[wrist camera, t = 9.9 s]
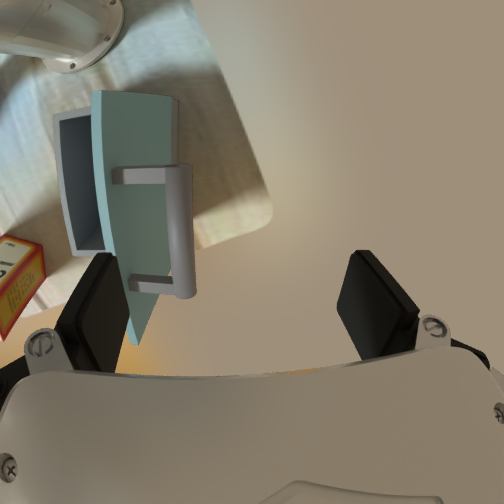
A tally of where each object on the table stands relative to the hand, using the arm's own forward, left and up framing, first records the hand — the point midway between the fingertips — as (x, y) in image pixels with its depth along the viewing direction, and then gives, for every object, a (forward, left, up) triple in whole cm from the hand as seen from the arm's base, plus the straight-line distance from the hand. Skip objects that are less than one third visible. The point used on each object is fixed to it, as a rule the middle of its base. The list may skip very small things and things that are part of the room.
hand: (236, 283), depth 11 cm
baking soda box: (+13, -35, -25) cm, 45 cm away
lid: (0, -6, -10) cm, 12 cm away
